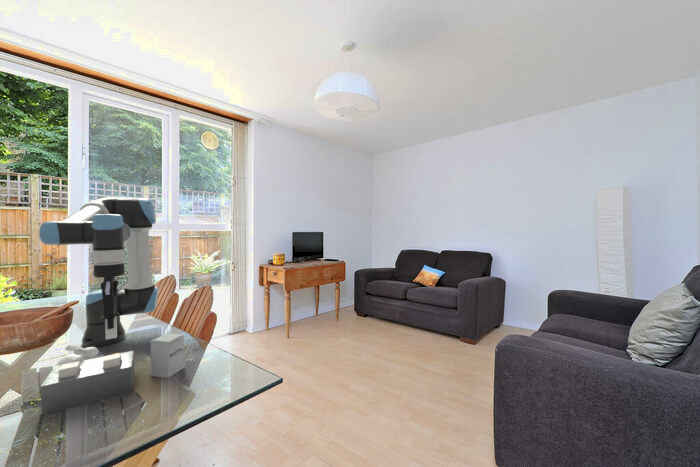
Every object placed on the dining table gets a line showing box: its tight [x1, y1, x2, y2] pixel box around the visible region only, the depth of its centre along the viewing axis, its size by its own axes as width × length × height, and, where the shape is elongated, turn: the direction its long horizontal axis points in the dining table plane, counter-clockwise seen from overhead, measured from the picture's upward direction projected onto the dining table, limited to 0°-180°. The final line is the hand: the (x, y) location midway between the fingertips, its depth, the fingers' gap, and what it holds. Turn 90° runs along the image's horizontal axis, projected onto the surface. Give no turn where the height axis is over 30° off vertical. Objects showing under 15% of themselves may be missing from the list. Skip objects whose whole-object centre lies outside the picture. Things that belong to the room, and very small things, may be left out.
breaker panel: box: [40, 350, 135, 416], centre depth 92 cm, size 14×20×9 cm
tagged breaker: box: [103, 352, 122, 369], centre depth 93 cm, size 4×4×5 cm
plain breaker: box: [58, 361, 80, 379], centre depth 88 cm, size 4×4×5 cm
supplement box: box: [150, 332, 185, 379], centre depth 104 cm, size 7×7×13 cm
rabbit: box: [55, 344, 99, 366], centre depth 100 cm, size 12×9×12 cm
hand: (111, 337), depth 93 cm, fingers closed
